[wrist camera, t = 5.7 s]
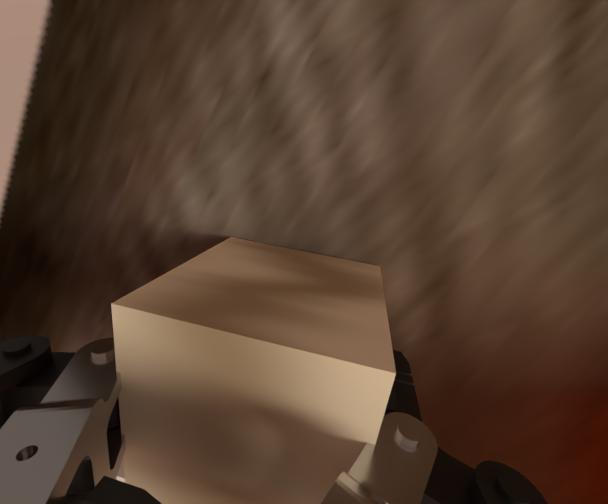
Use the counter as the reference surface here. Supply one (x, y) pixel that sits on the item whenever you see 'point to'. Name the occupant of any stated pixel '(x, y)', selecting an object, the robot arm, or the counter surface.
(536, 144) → the counter surface
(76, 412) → the robot arm
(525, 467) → the counter surface
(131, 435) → the birch block
